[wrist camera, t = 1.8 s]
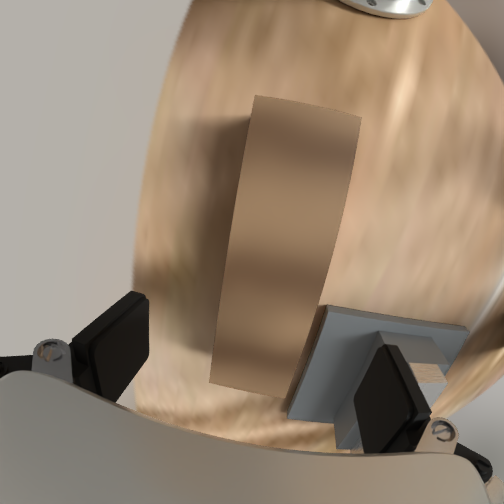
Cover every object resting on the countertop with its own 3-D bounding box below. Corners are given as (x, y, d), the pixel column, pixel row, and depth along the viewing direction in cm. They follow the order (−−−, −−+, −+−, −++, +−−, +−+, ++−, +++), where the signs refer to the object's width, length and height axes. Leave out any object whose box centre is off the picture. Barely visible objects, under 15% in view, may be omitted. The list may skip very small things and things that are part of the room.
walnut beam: (264, 114, 19) (254, 95, 14) (342, 131, 19) (361, 117, 13) (225, 340, 25) (208, 382, 20) (287, 353, 25) (284, 398, 19)
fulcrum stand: (326, 304, 23) (340, 364, 15) (464, 326, 21) (501, 371, 14) (287, 410, 27) (283, 468, 19) (408, 417, 26) (423, 465, 18)
